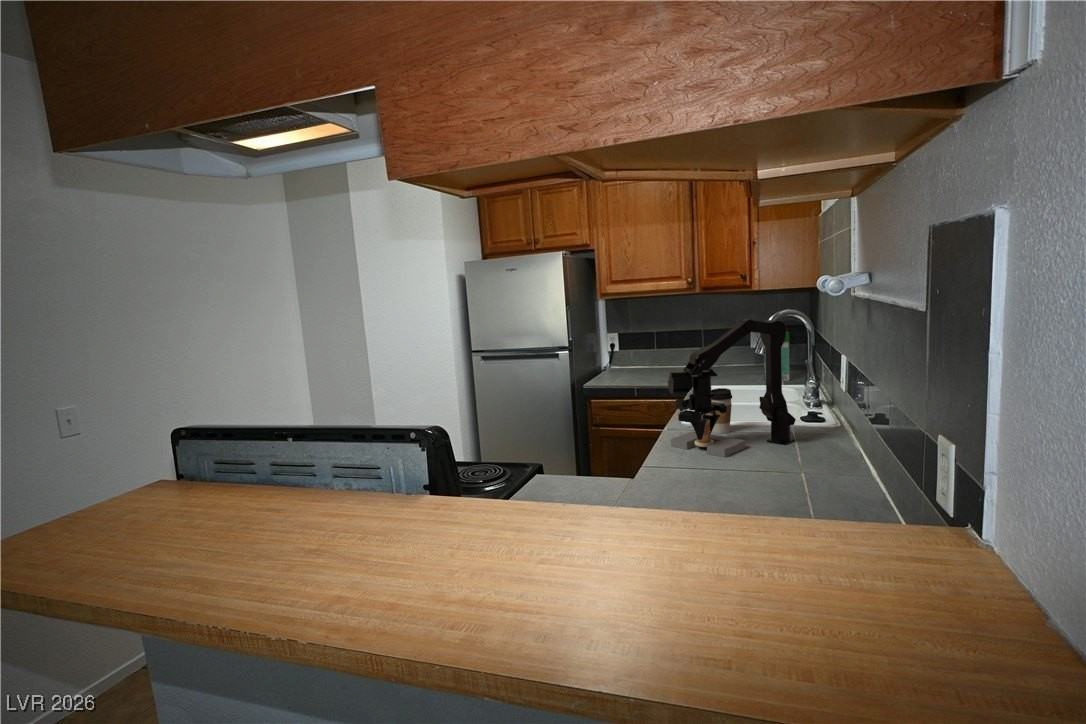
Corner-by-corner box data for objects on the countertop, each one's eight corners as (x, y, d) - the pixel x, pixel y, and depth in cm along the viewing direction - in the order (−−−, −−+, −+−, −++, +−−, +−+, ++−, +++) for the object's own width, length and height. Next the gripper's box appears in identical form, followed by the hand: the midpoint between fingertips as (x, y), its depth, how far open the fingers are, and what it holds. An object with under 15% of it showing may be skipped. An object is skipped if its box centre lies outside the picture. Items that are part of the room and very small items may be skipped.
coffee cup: (737, 430, 199) (736, 389, 197) (727, 435, 193) (725, 393, 191) (715, 427, 204) (714, 387, 202) (704, 432, 198) (703, 391, 196)
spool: (701, 440, 184) (700, 417, 183) (717, 443, 179) (716, 419, 178) (690, 444, 180) (689, 420, 179) (706, 448, 175) (706, 423, 174)
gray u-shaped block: (692, 438, 193) (692, 431, 192) (745, 448, 177) (745, 440, 177) (671, 446, 185) (670, 439, 185) (724, 457, 170) (724, 449, 169)
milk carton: (764, 379, 290) (763, 332, 287) (780, 378, 291) (779, 330, 288) (773, 382, 281) (772, 333, 278) (790, 380, 282) (789, 331, 279)
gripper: (697, 383, 189) (699, 428, 191) (663, 393, 178) (665, 440, 180) (726, 386, 181) (728, 433, 183) (692, 396, 169) (694, 446, 171)
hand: (703, 438), depth 179 cm, fingers closed on spool, 4 cm apart
